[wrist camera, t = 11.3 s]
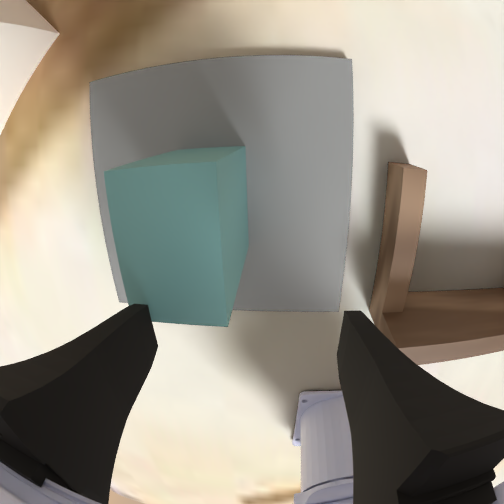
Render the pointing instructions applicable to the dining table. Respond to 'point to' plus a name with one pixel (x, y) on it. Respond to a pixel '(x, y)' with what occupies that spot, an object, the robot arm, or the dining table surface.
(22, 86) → the milk
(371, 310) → the bay
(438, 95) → the dining table surface
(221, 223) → the block
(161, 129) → the board
